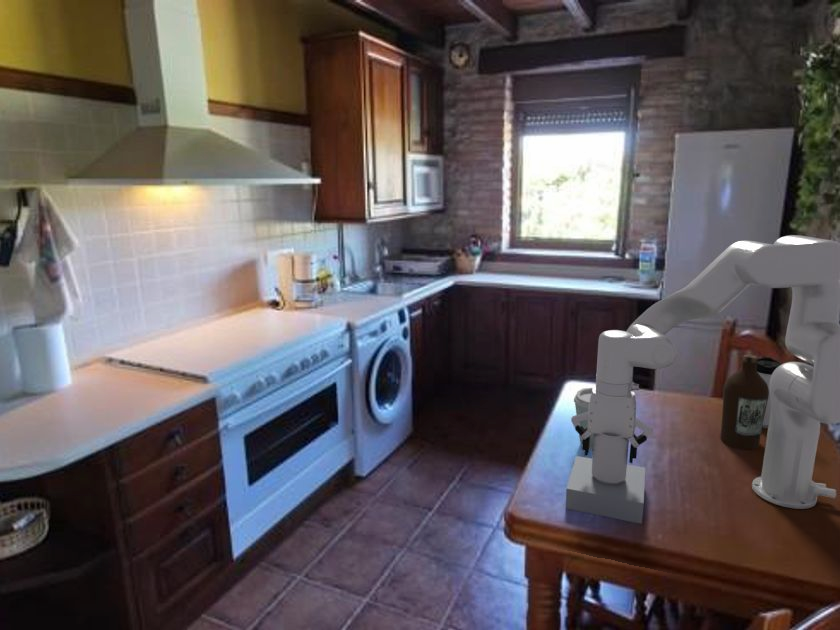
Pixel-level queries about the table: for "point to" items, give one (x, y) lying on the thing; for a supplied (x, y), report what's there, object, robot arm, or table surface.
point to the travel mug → (767, 380)
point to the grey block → (606, 493)
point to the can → (609, 458)
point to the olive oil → (744, 406)
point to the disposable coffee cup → (583, 409)
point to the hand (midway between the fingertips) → (608, 456)
